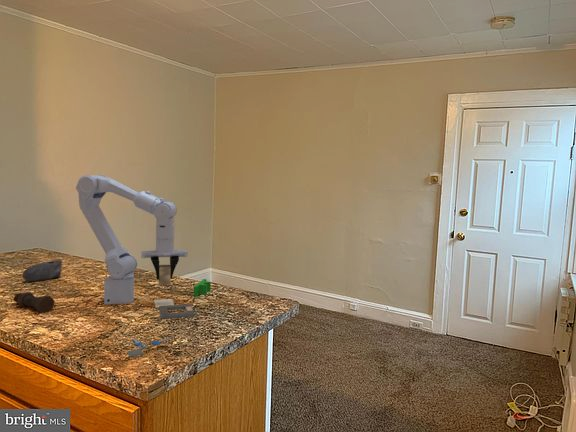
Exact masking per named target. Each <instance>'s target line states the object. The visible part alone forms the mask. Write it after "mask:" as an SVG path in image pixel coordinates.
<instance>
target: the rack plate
mask: <svg viewBox="0 0 576 432" xmlns="http://www.w3.org/2000/svg"><path fill="white" fill-rule="evenodd" d="M158 309H159V314H160V318H161V319H163V320H164V319H166V320H167V319H175V318H177V319H178V318H188V317H196V313H195V310H194V308H193V306H192V304H191V303H184V304H182V303H181V304H174V305H167V306H159V307H158ZM171 310H184V312H183V311H182V312H170V313H169V311H171Z"/></svg>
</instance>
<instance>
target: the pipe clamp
mask: <svg viewBox="0 0 576 432" xmlns="http://www.w3.org/2000/svg"><path fill="white" fill-rule="evenodd" d="M211 283H212V281H207V279H206V278H203V279H202V280H200V281H199V282H198V283H197V284H195V285H194V286H193V297H195V298H196V297H198V296H199V295H205V296H206V295H208V292H211V286H212V284H211Z"/></svg>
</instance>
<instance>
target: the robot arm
mask: <svg viewBox="0 0 576 432" xmlns="http://www.w3.org/2000/svg"><path fill="white" fill-rule="evenodd" d="M75 189H76V191H77V194H78V206H79V209H80V211H81V212H82V214H83V215H84V218H85V219H86V221H87V223H88V224H89V226H90V228H91V230H92V232H93V233H94V235H95V237H96V239H97V241H98V242H99V244H100V246H101V248H102V249H103V251H104V253H105V259H104V263H105V265H106V270H107V273H108V275H109V277H104V282H103V283H104V285H103V289H104V294H103V297H102V298H103V303H104V305H116V304H117V305H123V304H130V303H133V302H134V301H135V273H134V272H135V270H136V269H137V267H138V262H137V259H136V257H135V256H133V255H132V254H131V253H130V251H129V250H128V249H126V248H125V247H123V246H122V245H121V242H120V241H119V238H117V235H116V234H115V232H114V229H112V227H111V225H110V223H109V221H108V219H107V218H106V216H105V213H104V212H103V211H102V208H101V207H100V203H101V200H102V199H103V197H104V196H105V195H106V194H107V193H113V194H115V195H118V196H121V197H122V198H125V199H127V200H130V201H132V202H133V204H134V207H136V208H138V209H140V210H142V211H145V212H146V213H148V214H151V215H153V216H154V218H156V226H155V229H156V231H155V250H146V251H145V250H144V251H143V250H141V259H147V258H149V259H150V261H151V263H152V266H153V268H154V270H155V274H156V275H155V276H156V280H158V281H159V265H160V259H159V258H169V265H170V267H171V273H170V280H172V279H173V276H174V272H175V269H176V267H177V265H178V263H179V261H180V258H188V250H184V249H181V250H180V249H178V250H177V249H175V216H176V215H177V212H178V208H177V206H176V204H175V203H174V202H172V200H171V201H170V200H165V198H164V197H157V196H156V195H154V194H152V192H151V191H149V190H146V191H144V190H142V191H139V192H138V191H136V190H134V189H133V188H130V187H128V186H126V185H125V184H123V183H121V182H119V181H117V180H115V179H114V178H112V177H108V176H106V175H103V174H97V175H90V174H85V175H81V177H79V179H78V180H77V184H76V186H75Z"/></svg>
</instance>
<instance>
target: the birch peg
mask: <svg viewBox="0 0 576 432" xmlns="http://www.w3.org/2000/svg"><path fill="white" fill-rule="evenodd" d="M170 273H171V267H170V264H159V280H158V281H157V282H158V285H159V286H171V279H170Z"/></svg>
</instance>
